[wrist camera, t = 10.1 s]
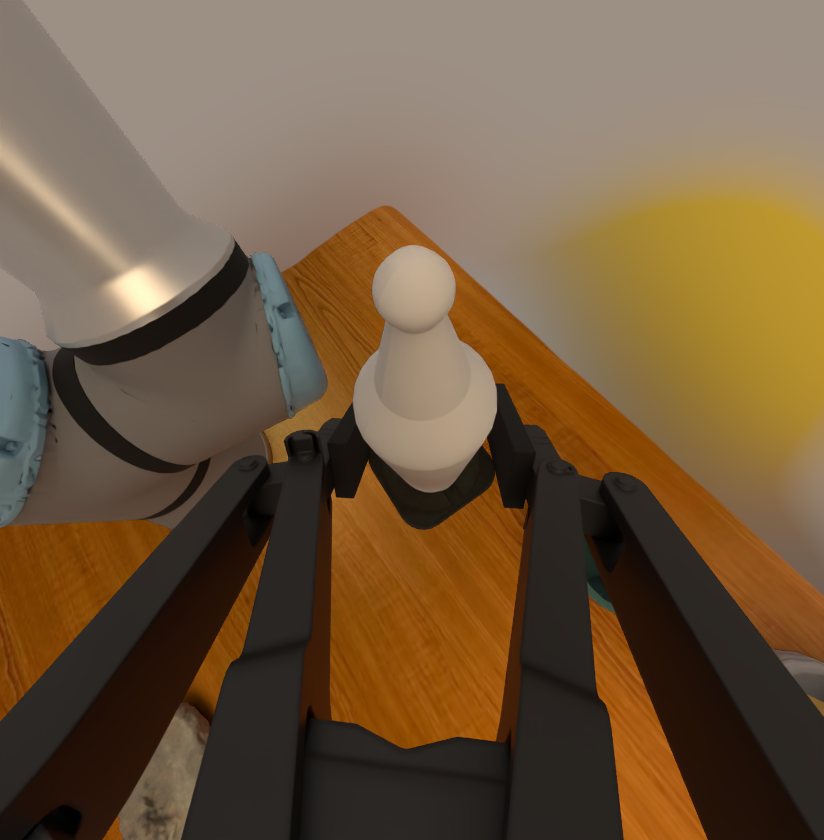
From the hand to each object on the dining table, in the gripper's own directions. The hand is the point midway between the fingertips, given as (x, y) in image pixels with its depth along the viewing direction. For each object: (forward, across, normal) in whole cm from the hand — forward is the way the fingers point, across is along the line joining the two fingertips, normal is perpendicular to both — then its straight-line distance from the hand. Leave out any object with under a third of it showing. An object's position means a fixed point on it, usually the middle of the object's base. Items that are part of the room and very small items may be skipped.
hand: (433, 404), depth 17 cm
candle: (+5, 0, -10) cm, 12 cm away
